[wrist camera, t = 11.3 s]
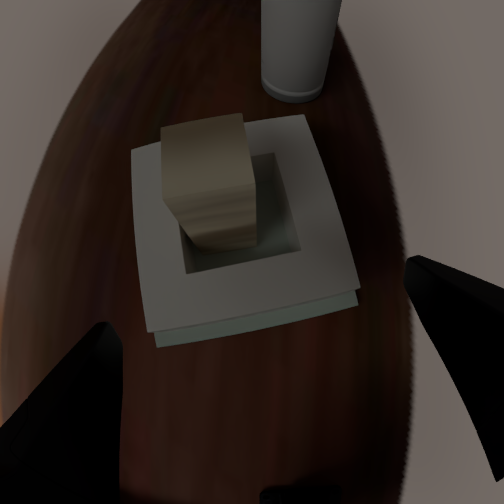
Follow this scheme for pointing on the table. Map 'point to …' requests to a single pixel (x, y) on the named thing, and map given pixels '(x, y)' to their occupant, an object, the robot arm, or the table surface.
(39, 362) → the table surface
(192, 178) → the birch peg
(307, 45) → the travel mug
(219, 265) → the socket block
